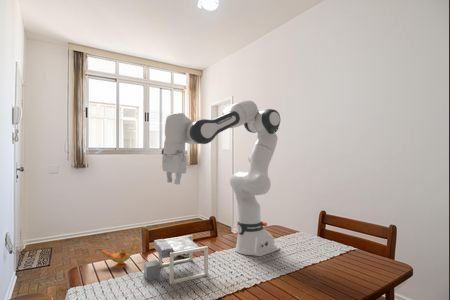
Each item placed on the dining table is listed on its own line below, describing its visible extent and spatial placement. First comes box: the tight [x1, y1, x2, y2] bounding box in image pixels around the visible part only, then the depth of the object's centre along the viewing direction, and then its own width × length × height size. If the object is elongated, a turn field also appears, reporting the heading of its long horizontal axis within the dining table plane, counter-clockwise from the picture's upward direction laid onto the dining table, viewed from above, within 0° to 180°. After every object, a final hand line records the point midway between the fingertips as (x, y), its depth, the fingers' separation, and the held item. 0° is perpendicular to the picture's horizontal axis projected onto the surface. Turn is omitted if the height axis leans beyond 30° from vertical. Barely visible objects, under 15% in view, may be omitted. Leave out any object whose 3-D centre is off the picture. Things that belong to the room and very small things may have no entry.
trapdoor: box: [153, 237, 200, 259], centre depth 102 cm, size 14×14×3 cm
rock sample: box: [175, 253, 189, 259], centre depth 119 cm, size 10×8×9 cm
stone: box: [143, 259, 161, 281], centre depth 98 cm, size 5×5×5 cm
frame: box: [158, 234, 209, 285], centre depth 103 cm, size 15×18×11 cm
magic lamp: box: [96, 240, 139, 269], centre depth 108 cm, size 7×18×11 cm, turn 88°
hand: (173, 183), depth 107 cm, fingers open, 8 cm apart
